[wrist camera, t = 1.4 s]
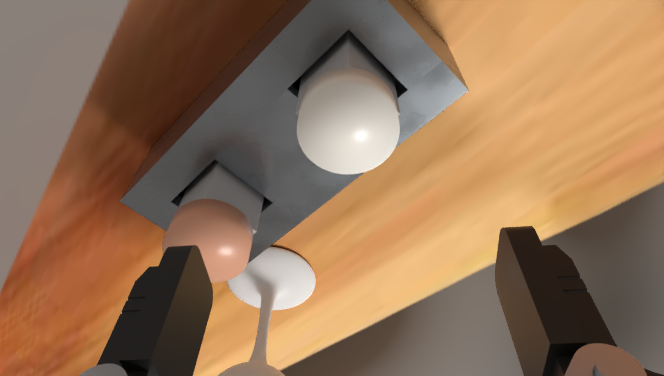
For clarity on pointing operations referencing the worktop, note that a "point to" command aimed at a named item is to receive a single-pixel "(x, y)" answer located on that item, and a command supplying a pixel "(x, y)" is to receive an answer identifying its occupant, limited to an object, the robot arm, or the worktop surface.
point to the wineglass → (270, 299)
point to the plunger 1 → (217, 221)
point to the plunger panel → (291, 110)
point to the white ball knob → (347, 109)
